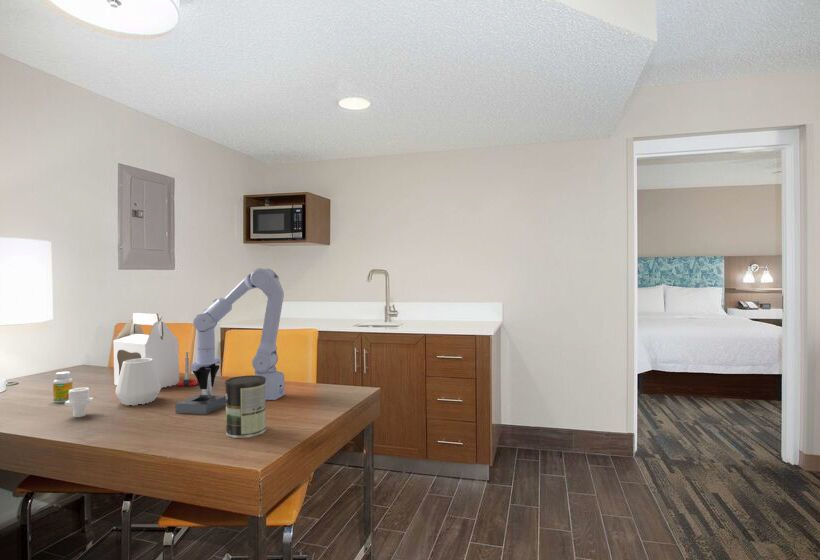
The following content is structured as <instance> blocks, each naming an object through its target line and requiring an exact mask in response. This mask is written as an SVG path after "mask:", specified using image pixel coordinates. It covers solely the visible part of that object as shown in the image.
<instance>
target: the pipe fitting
mask: <svg viewBox="0 0 820 560" xmlns="http://www.w3.org/2000/svg"><path fill="white" fill-rule="evenodd" d="M68 393H69V400H68V401H66V402H64V406H68V407H72V416H73V418H81V417H85V416H86V415H87V405H89V404H91V403H92V402H94V397H90V388H89V387H77V388H73V389H71V390H69V392H68Z"/></svg>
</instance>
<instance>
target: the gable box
mask: <svg viewBox="0 0 820 560" xmlns="http://www.w3.org/2000/svg"><path fill="white" fill-rule="evenodd" d="M162 318H163V316H161V315H159V314H158V313H153V312H151V313H150V312H133V313H132V319H130V320H128V321H127V322H126V324H125V325H124V327H123V328H122V329H121V330H120V331H119V333H118V335H117V336H116V337H115V338H114V340H113V343H112V345H113V383H114V386H116V385H117V383H118V379H119V375H120V371H121V368H122V364H123V362H124V361H126V360H131V359H140V358H150V359H153V362H154V366H155V369H156V372H157V375H158V379H159V382H160V385H161V389H164V388H163V387H165V388H168V387H167V386H169V387H173V386H172V385H174V386H177V385H176V384H178V382H180V356H179V355H180V353H179V352H180V351H179V349H180V348H179V346H180V345H179V344H180V343H179V339H178V338H177V337H176V336H175V335H174V333H173V332H172V331H171V329H170V328H169V327H168V326H167V324H166V323H165V322H164V321H162ZM141 325H144V326H152V328H151V330H150V332H149V334H145V332H144V330H143V328H142V327H141Z"/></svg>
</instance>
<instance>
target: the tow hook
mask: <svg viewBox="0 0 820 560" xmlns="http://www.w3.org/2000/svg"><path fill="white" fill-rule="evenodd" d="M184 358H185V359H184V360H185V361H184V363H185V364H184V367H185V369H184V379H183V380H181V381H179V382H178V384H177V385H176V386H178V387H193V386H194V387H196V386H195V385H199V383H198V380H197V378H196V379H191V378H190V362H189V360H190V359H189V352H185V357H184ZM194 381H197V382H194Z"/></svg>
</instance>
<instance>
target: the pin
mask: <svg viewBox="0 0 820 560" xmlns="http://www.w3.org/2000/svg"><path fill="white" fill-rule="evenodd" d="M206 369H210V372H209V375H208V383H207V389H201V395H212V387H211V368H206Z"/></svg>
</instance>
